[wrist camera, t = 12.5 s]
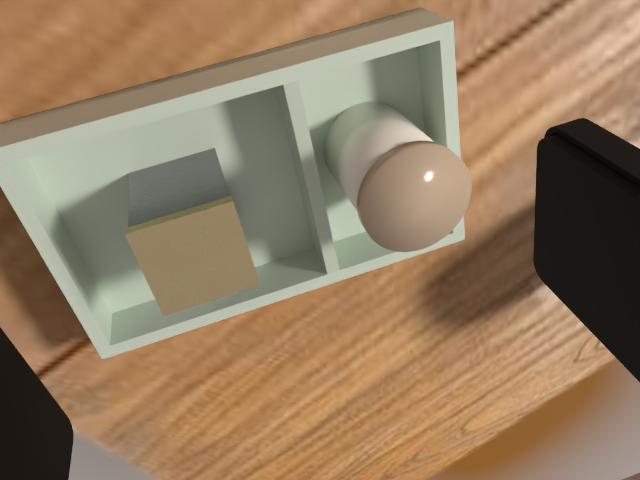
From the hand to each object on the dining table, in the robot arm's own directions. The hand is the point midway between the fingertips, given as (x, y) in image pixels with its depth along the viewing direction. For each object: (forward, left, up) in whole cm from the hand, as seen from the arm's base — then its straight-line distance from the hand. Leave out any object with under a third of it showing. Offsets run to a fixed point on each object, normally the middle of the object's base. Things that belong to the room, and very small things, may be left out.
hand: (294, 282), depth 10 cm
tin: (+3, +9, -23) cm, 25 cm away
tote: (-1, +10, -24) cm, 26 cm away
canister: (-8, +10, -23) cm, 27 cm away
